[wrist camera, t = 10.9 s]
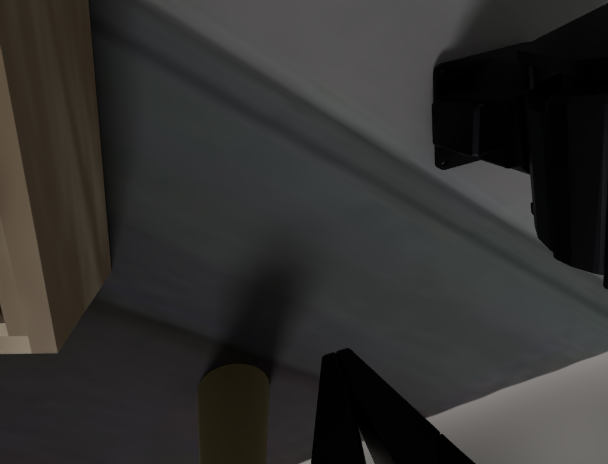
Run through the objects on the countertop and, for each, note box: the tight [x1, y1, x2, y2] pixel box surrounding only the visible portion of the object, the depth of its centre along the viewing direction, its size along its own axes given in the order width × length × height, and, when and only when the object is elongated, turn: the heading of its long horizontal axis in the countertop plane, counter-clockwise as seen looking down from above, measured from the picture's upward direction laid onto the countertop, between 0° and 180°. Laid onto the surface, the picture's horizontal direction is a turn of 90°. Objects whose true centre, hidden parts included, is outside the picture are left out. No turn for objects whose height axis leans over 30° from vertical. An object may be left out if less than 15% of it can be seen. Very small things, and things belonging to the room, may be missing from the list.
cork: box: [197, 364, 270, 464], centre depth 22 cm, size 6×6×11 cm
